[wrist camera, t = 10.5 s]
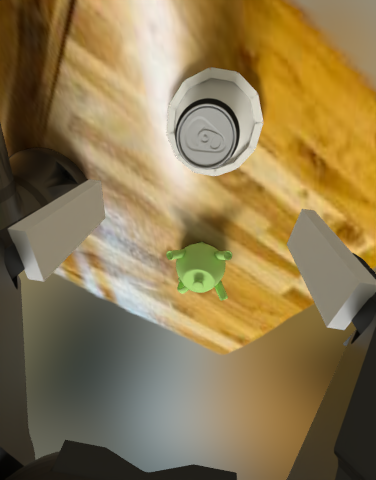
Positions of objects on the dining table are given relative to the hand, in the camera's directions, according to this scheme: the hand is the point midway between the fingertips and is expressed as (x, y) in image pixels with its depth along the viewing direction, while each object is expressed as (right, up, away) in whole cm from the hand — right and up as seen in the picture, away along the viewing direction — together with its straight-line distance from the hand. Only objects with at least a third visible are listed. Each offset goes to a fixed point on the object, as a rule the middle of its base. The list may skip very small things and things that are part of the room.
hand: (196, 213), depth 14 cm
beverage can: (+3, +14, +16) cm, 22 cm away
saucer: (+3, +15, +17) cm, 23 cm away
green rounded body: (+3, -5, +30) cm, 30 cm away
